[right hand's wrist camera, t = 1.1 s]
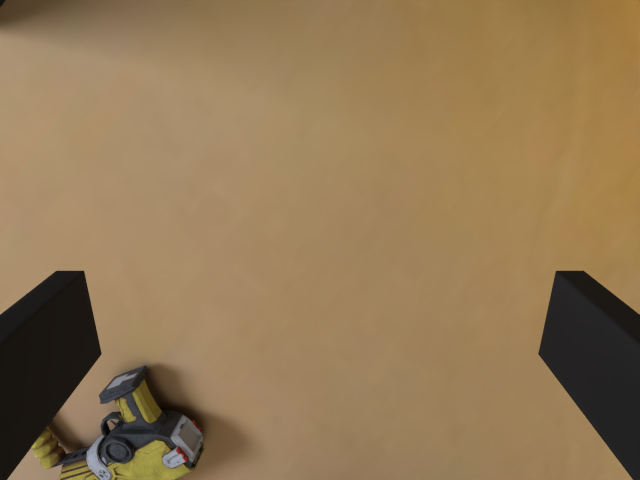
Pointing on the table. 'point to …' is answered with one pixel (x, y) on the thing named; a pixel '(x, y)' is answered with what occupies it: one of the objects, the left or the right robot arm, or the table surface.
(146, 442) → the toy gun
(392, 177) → the table surface
